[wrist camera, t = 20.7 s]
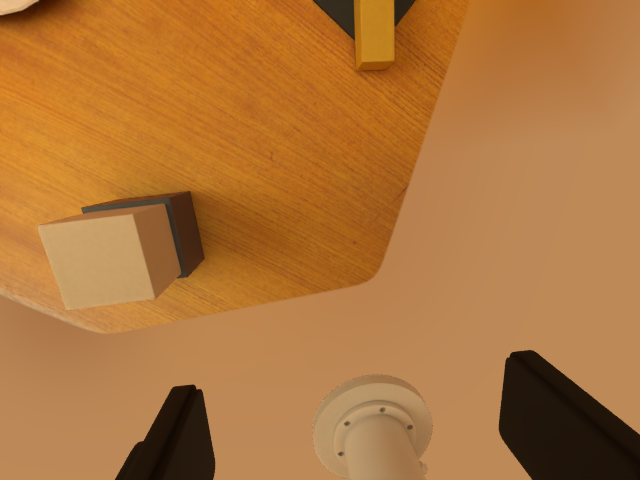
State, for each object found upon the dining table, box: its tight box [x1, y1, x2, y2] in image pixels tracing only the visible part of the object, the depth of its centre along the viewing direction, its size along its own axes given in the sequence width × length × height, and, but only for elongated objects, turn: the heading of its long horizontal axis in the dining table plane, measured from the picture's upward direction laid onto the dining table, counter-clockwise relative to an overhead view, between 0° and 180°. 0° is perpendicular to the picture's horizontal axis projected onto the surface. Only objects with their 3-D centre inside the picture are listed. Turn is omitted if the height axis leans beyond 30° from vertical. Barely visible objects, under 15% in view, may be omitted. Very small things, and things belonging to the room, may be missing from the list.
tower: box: [37, 191, 205, 311], centre depth 30 cm, size 8×8×12 cm
